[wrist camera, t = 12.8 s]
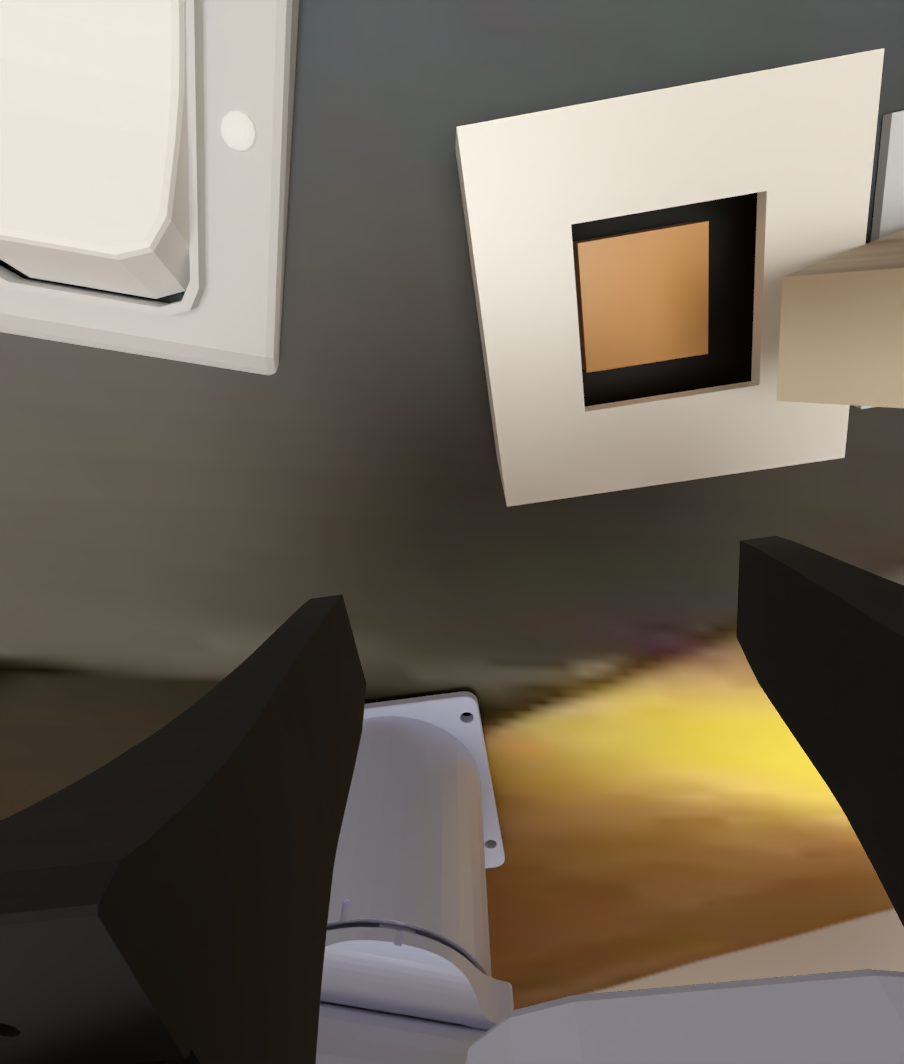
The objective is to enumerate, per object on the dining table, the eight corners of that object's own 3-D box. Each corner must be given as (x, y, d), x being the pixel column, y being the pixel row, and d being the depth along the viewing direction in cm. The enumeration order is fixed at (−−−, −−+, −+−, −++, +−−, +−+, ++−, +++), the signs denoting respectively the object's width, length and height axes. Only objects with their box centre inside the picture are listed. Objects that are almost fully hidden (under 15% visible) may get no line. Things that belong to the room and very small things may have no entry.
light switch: (-159, 340, 17) (-361, -404, 11) (-52, 313, 21) (-161, -261, 15) (254, 406, 18) (269, -257, 12) (287, 369, 22) (312, -155, 16)
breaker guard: (774, 418, 21) (844, 457, 17) (497, 459, 22) (506, 507, 18) (790, 88, 17) (884, 48, 14) (454, 149, 18) (456, 127, 14)
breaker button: (686, 343, 20) (708, 353, 18) (575, 361, 20) (586, 372, 18) (685, 222, 18) (709, 221, 17) (566, 242, 19) (577, 243, 17)
